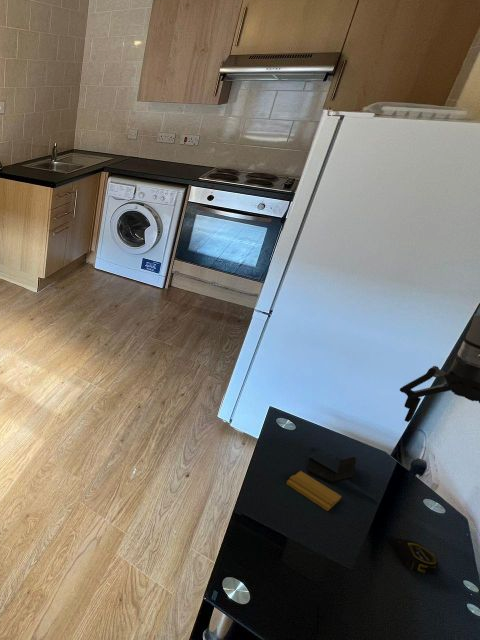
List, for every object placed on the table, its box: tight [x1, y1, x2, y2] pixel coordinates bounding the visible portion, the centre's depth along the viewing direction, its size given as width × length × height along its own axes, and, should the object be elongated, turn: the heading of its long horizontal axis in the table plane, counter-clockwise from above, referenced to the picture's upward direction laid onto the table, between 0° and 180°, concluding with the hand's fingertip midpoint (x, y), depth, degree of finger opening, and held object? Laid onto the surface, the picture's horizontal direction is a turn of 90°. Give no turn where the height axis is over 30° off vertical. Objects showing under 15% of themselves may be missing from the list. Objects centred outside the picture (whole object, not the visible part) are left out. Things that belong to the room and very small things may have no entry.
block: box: [285, 470, 343, 512], centre depth 116 cm, size 10×8×2 cm
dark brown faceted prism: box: [307, 456, 357, 485], centre depth 122 cm, size 12×7×10 cm
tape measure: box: [390, 538, 439, 575], centre depth 97 cm, size 7×7×4 cm
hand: (445, 436), depth 101 cm, fingers open, 13 cm apart
